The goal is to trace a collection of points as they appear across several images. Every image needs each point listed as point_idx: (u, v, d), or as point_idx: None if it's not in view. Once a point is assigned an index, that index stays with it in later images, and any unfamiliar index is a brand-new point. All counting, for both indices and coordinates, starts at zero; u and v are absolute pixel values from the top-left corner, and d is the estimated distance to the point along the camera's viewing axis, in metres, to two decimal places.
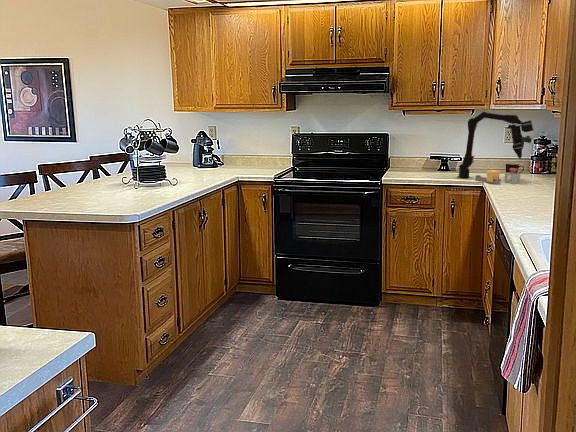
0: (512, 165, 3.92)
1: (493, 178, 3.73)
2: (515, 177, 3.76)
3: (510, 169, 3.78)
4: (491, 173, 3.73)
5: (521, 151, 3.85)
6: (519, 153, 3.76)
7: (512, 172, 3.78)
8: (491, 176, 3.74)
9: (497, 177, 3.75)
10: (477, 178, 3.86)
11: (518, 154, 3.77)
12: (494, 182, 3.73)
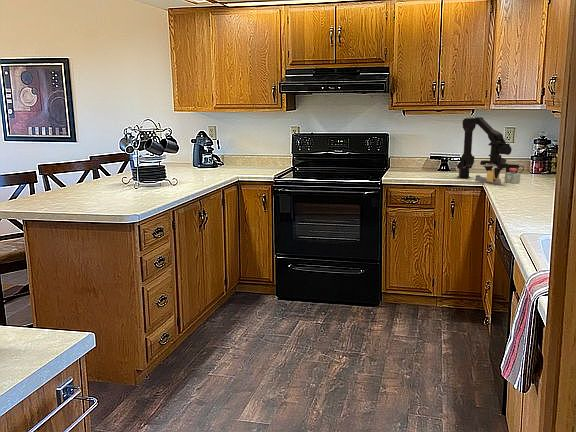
0: (512, 165, 3.92)
1: (493, 178, 3.73)
2: (515, 177, 3.76)
3: (510, 169, 3.78)
4: (491, 173, 3.73)
5: None
6: (498, 173, 3.72)
7: (512, 172, 3.78)
8: (491, 176, 3.74)
9: (497, 177, 3.75)
10: (477, 178, 3.86)
11: (497, 174, 3.72)
12: (494, 182, 3.73)
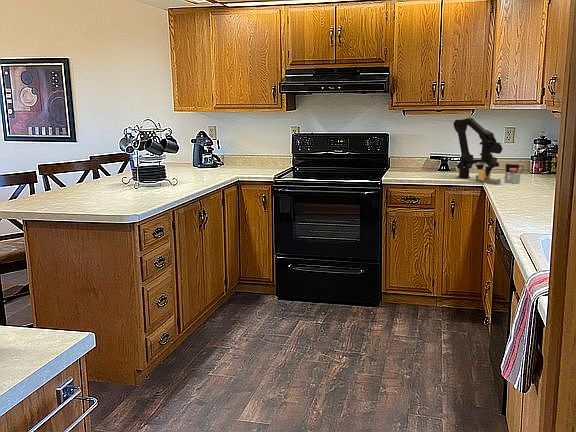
0: (512, 165, 3.92)
1: (484, 176, 3.80)
2: (515, 177, 3.76)
3: (510, 169, 3.78)
4: (482, 171, 3.80)
5: None
6: (489, 171, 3.79)
7: (512, 172, 3.78)
8: (482, 174, 3.80)
9: None
10: (477, 178, 3.86)
11: (488, 172, 3.79)
12: (494, 182, 3.73)
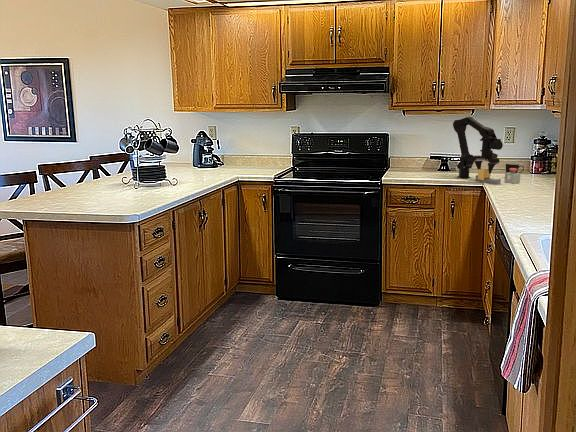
0: (512, 165, 3.92)
1: (484, 176, 3.80)
2: (515, 177, 3.76)
3: (510, 169, 3.78)
4: (482, 171, 3.80)
5: (480, 166, 3.86)
6: (491, 168, 3.77)
7: (512, 172, 3.78)
8: (482, 174, 3.80)
9: (488, 175, 3.81)
10: (477, 178, 3.86)
11: (490, 169, 3.77)
12: (494, 182, 3.73)
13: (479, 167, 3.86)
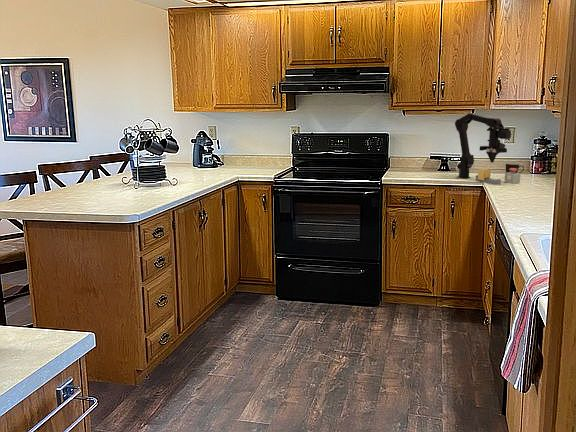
0: (512, 165, 3.92)
1: (484, 176, 3.80)
2: (515, 177, 3.76)
3: (510, 169, 3.78)
4: (482, 171, 3.80)
5: None
6: (494, 157, 3.78)
7: (512, 172, 3.78)
8: (482, 174, 3.80)
9: (488, 175, 3.81)
10: (477, 178, 3.86)
11: (493, 158, 3.78)
12: (494, 182, 3.73)
13: None
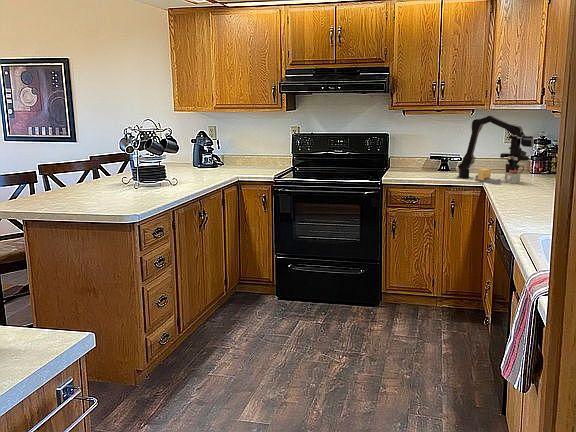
0: None
1: (484, 176, 3.80)
2: (515, 177, 3.76)
3: (510, 171, 3.78)
4: (482, 171, 3.80)
5: None
6: (515, 165, 3.77)
7: None
8: (482, 174, 3.80)
9: (488, 175, 3.81)
10: (477, 178, 3.86)
11: (514, 166, 3.77)
12: (494, 182, 3.73)
13: None
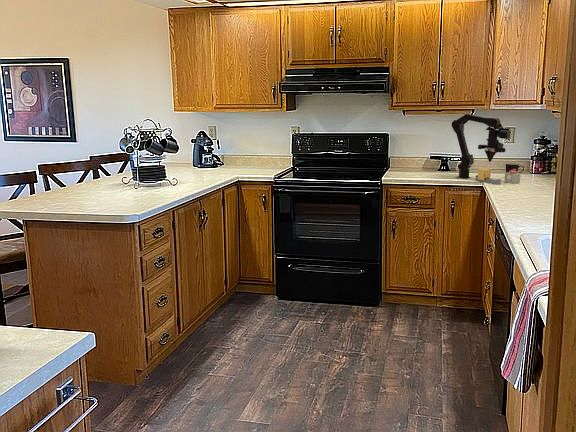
0: (512, 165, 3.92)
1: (484, 176, 3.80)
2: (515, 177, 3.76)
3: (510, 172, 3.78)
4: (482, 171, 3.80)
5: None
6: (492, 156, 3.83)
7: None
8: (482, 174, 3.80)
9: (488, 175, 3.81)
10: (477, 178, 3.86)
11: (491, 157, 3.83)
12: (494, 182, 3.73)
13: None
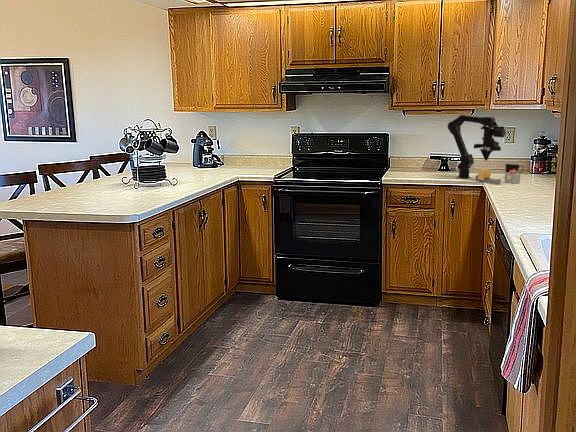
0: (512, 165, 3.92)
1: (484, 176, 3.80)
2: (515, 177, 3.76)
3: (510, 172, 3.78)
4: (482, 171, 3.80)
5: None
6: (488, 155, 3.84)
7: None
8: (482, 174, 3.80)
9: (488, 175, 3.81)
10: (477, 178, 3.86)
11: (487, 156, 3.84)
12: (494, 182, 3.73)
13: None
